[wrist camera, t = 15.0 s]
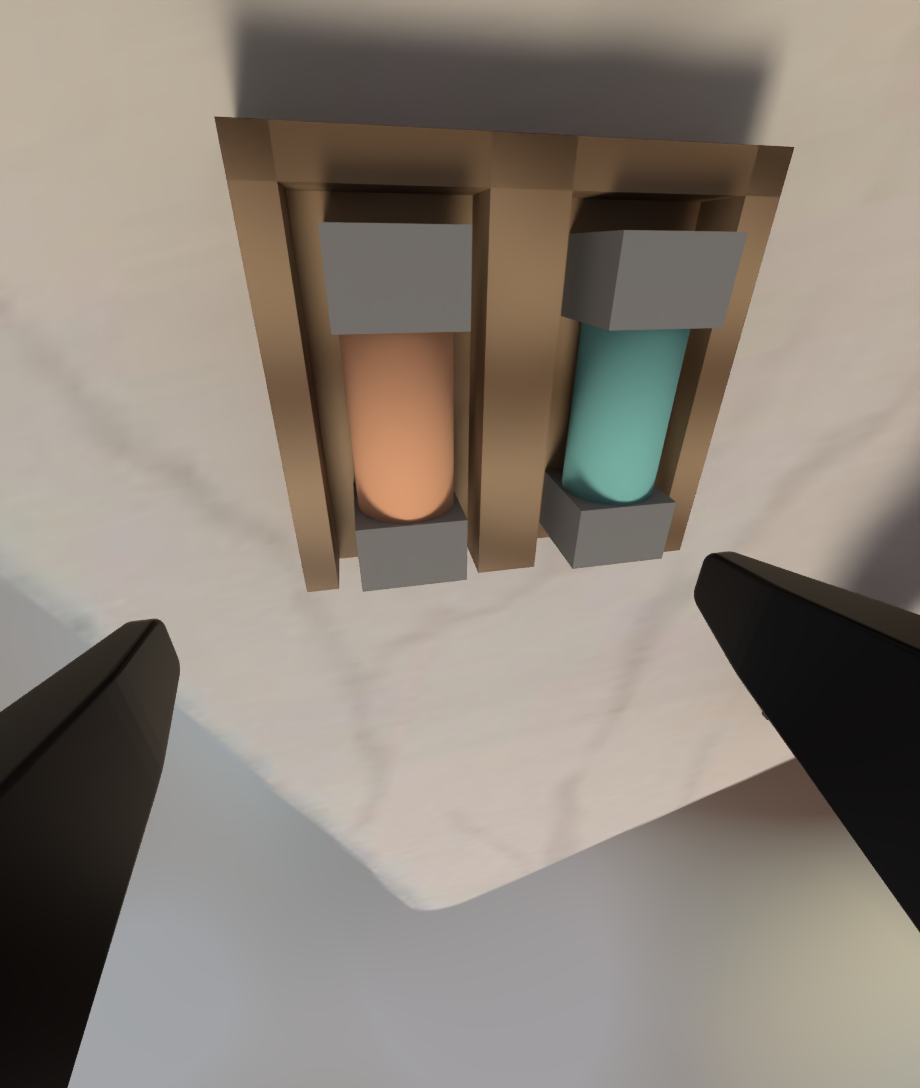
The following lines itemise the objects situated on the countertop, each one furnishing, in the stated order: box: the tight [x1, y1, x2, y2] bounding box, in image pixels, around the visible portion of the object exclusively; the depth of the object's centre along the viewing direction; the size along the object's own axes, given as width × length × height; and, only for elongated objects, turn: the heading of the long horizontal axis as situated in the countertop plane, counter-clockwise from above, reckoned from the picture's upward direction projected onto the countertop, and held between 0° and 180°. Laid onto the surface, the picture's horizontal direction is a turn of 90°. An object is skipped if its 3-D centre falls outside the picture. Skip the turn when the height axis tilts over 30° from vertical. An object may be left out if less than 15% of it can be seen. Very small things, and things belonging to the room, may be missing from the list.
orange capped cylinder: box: [318, 222, 472, 592], centre depth 16 cm, size 11×4×4 cm, turn 0°
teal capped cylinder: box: [539, 230, 748, 569], centre depth 18 cm, size 11×4×4 cm, turn 0°
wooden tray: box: [215, 117, 794, 592], centre depth 18 cm, size 14×16×3 cm
